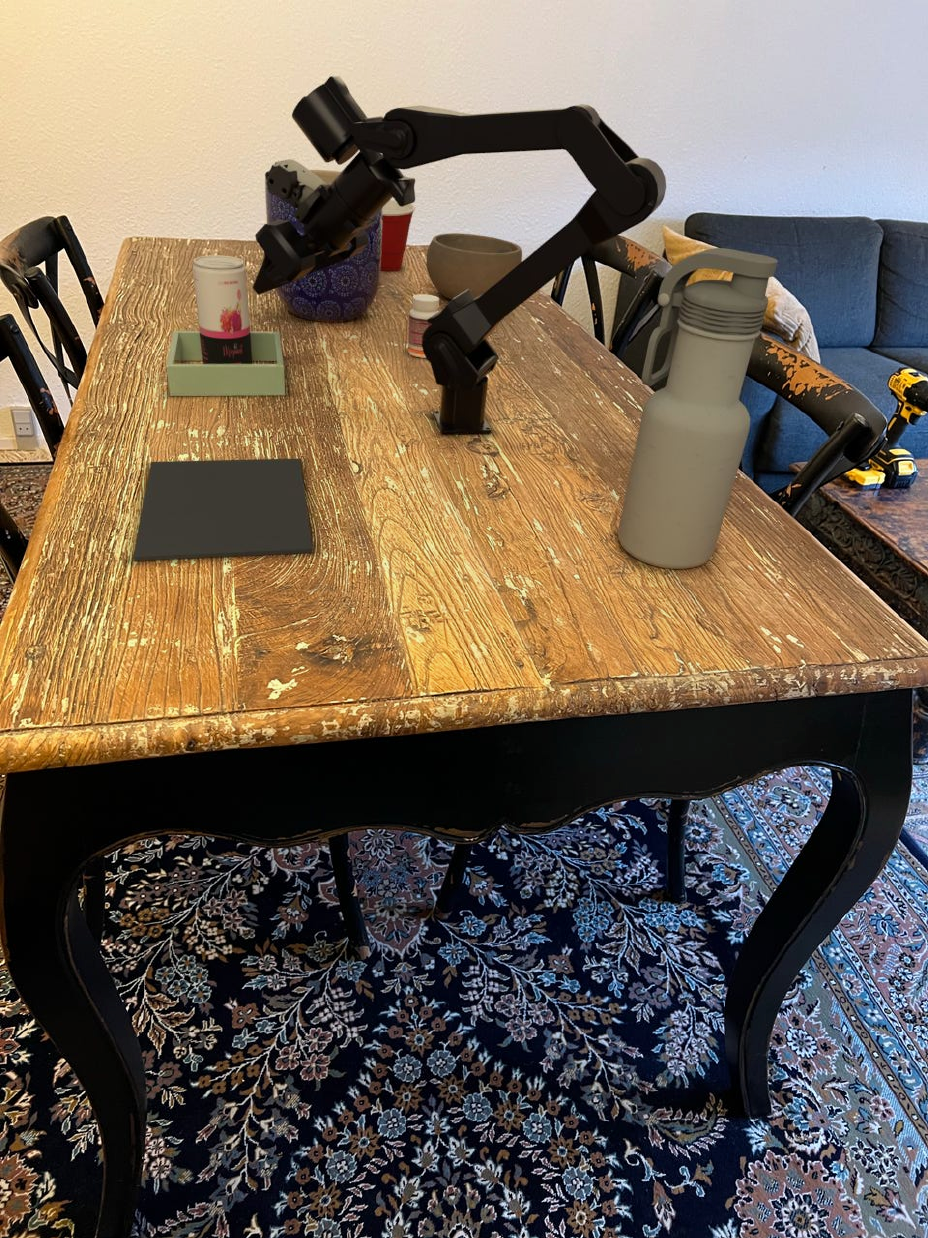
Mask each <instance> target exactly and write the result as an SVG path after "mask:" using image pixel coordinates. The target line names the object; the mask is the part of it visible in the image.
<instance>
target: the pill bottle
mask: <svg viewBox="0 0 928 1238" xmlns="http://www.w3.org/2000/svg"><path fill="white" fill-rule="evenodd" d="M411 307H412V308H411V309H410V310H409V313H408V341H407V344H408V345H407V353H408V354H409V355H411V356H413V357H416V358H422V359H427V358H426V356H425V354H424V352H423V348H422V335H423V333H424V331H425V330H426V329H427V327H428V326H430V325H431V324H430V323H428V322H427V319H429V318H430V317H432V316H433V315H435V314H436V313H438V312H439V311H440V310H438V309H439V308H440V298H439V297H438V296H436V295H433V294H427V293H419V294H414V295H413V296H412V299H411Z"/></svg>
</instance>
